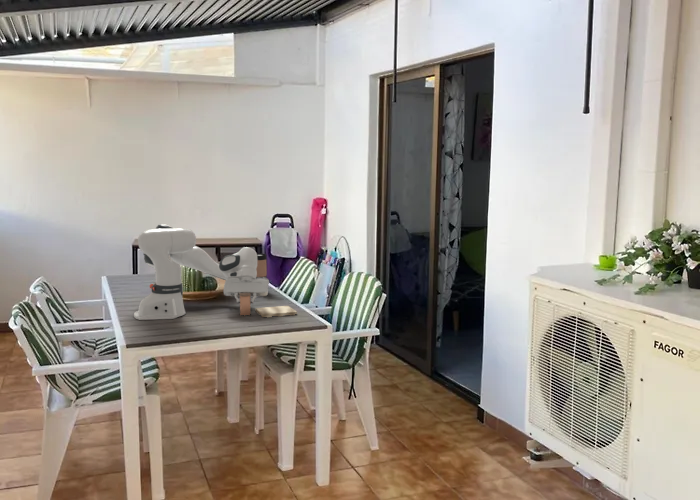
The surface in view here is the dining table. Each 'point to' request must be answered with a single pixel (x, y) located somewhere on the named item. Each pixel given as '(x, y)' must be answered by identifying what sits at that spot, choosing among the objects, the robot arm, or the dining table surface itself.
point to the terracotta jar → (245, 303)
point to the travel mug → (261, 266)
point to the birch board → (275, 311)
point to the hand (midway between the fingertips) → (245, 302)
